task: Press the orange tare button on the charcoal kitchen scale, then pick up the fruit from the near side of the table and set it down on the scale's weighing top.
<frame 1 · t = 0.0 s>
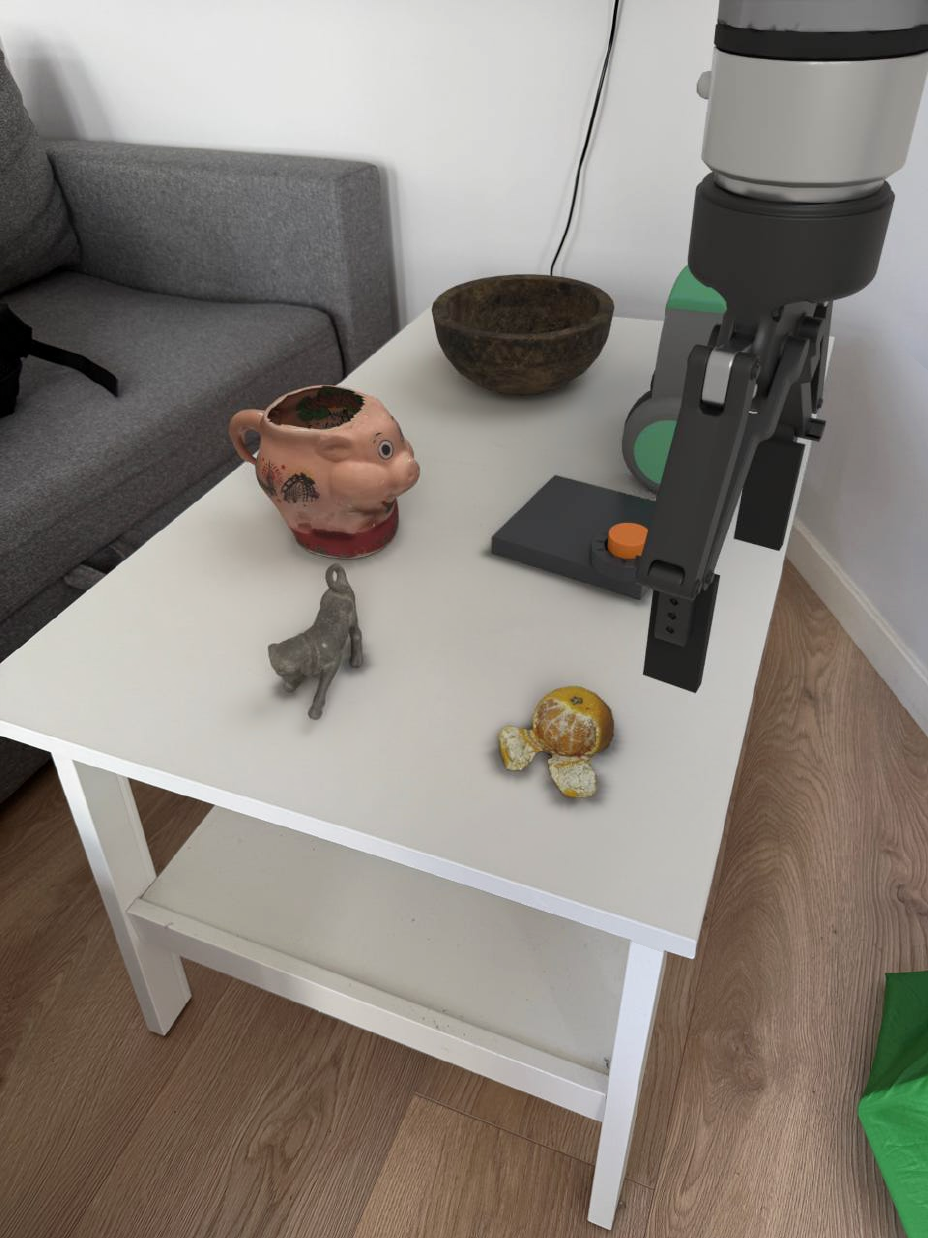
hand: (718, 605, 49), 19 cm above the table, tool pointing down, fingers open, 13 cm apart
tare button: (628, 541, 80), point 4 cm above the table, slide at 0.2 cm
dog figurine: (320, 676, 74), on the table
bowl: (521, 384, 116), on the table
fruit: (554, 751, 67), on the table
scale: (593, 540, 87), on the table
grey headset: (683, 460, 99), on the table
decorative planter: (332, 534, 90), on the table
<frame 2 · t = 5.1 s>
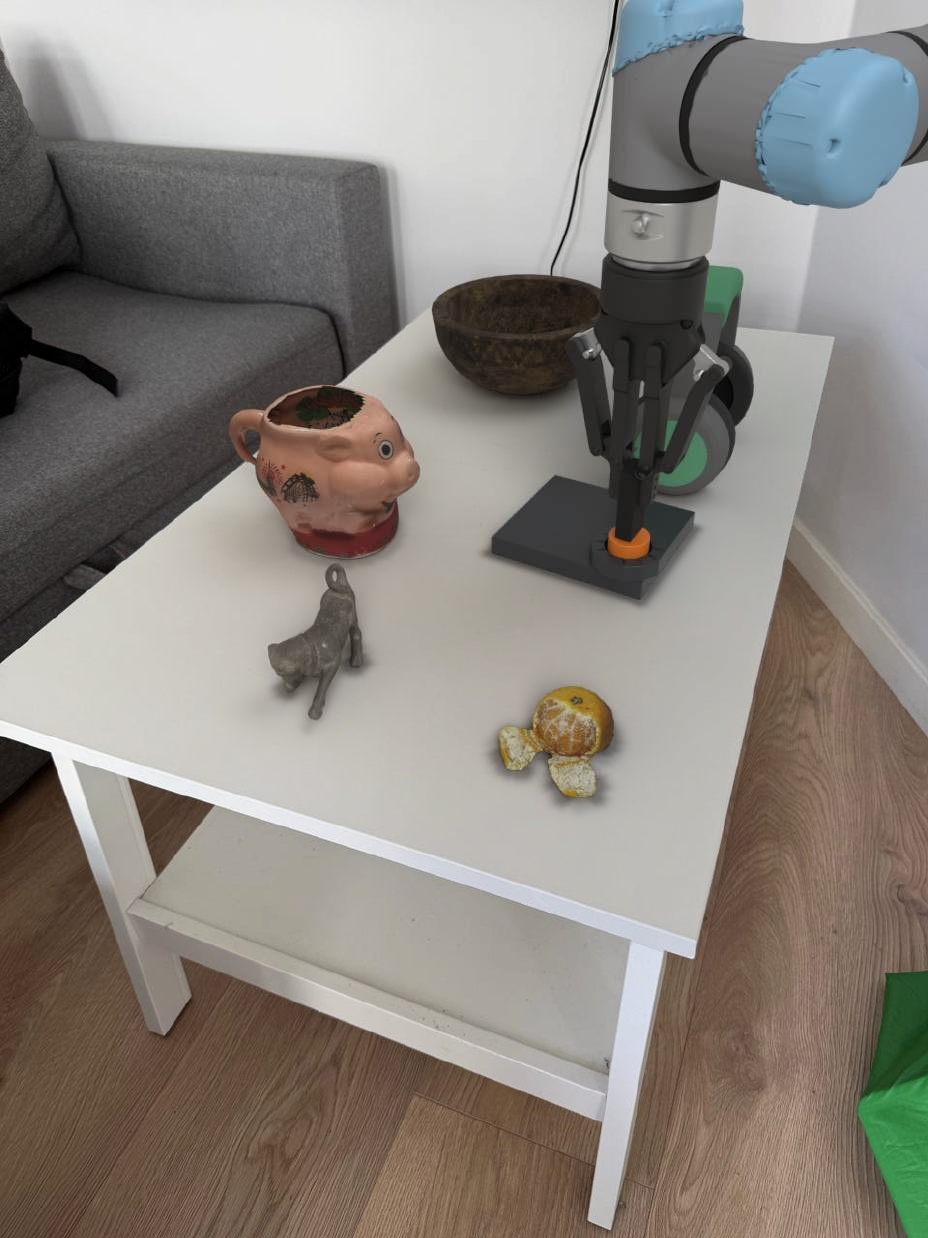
hand: (628, 531, 80), 5 cm above the table, tool pointing down, fingers closed
tare button: (628, 542, 80), point 4 cm above the table, slide at 0.0 cm, touching gripper
everything else where it was.
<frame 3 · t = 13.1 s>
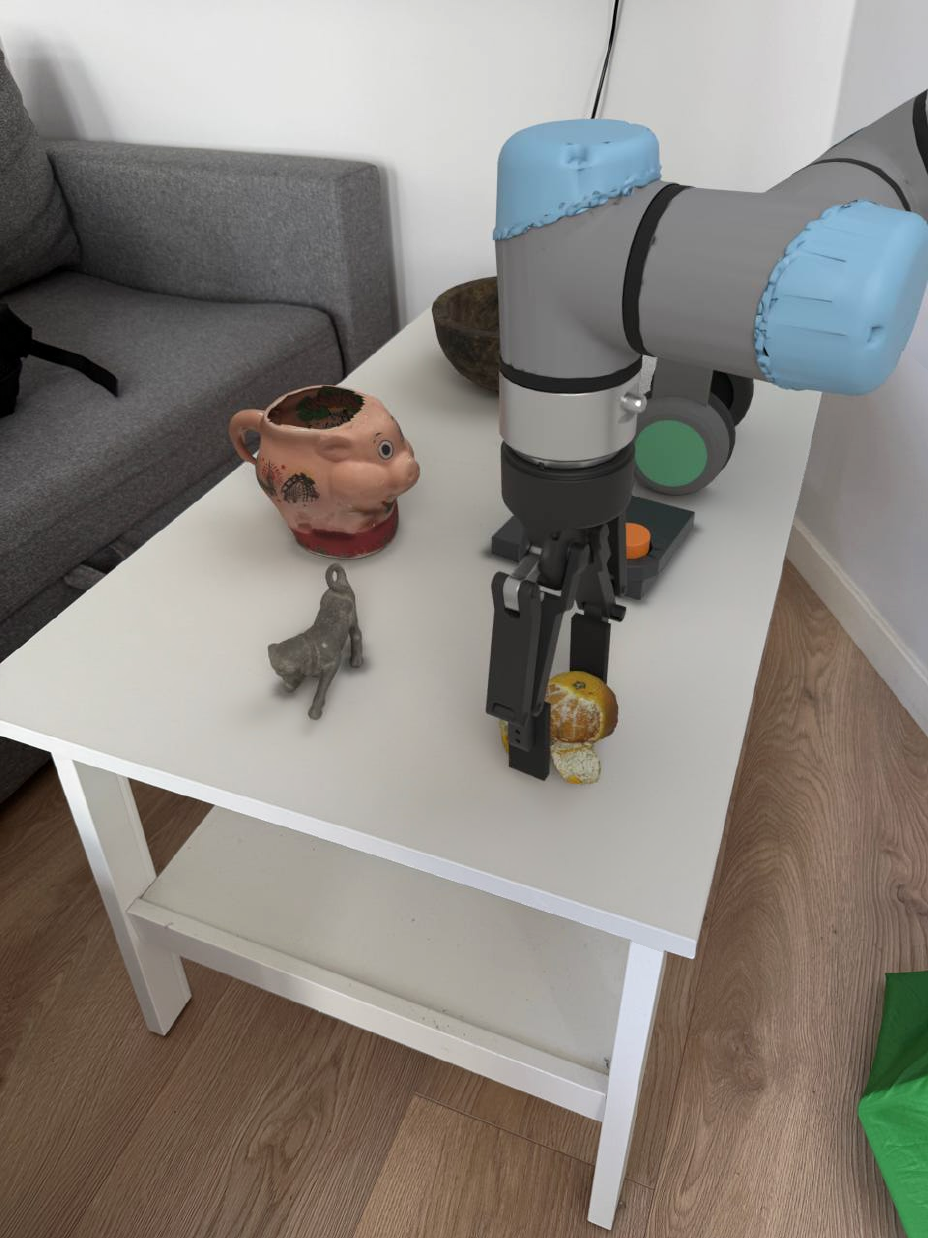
hand: (559, 727, 65), 2 cm above the table, tool pointing down, fingers closed on fruit, 8 cm apart
tare button: (628, 541, 80), point 4 cm above the table, slide at 0.1 cm
fruit: (556, 738, 65), point 2 cm above the table, touching gripper
everything else where it was.
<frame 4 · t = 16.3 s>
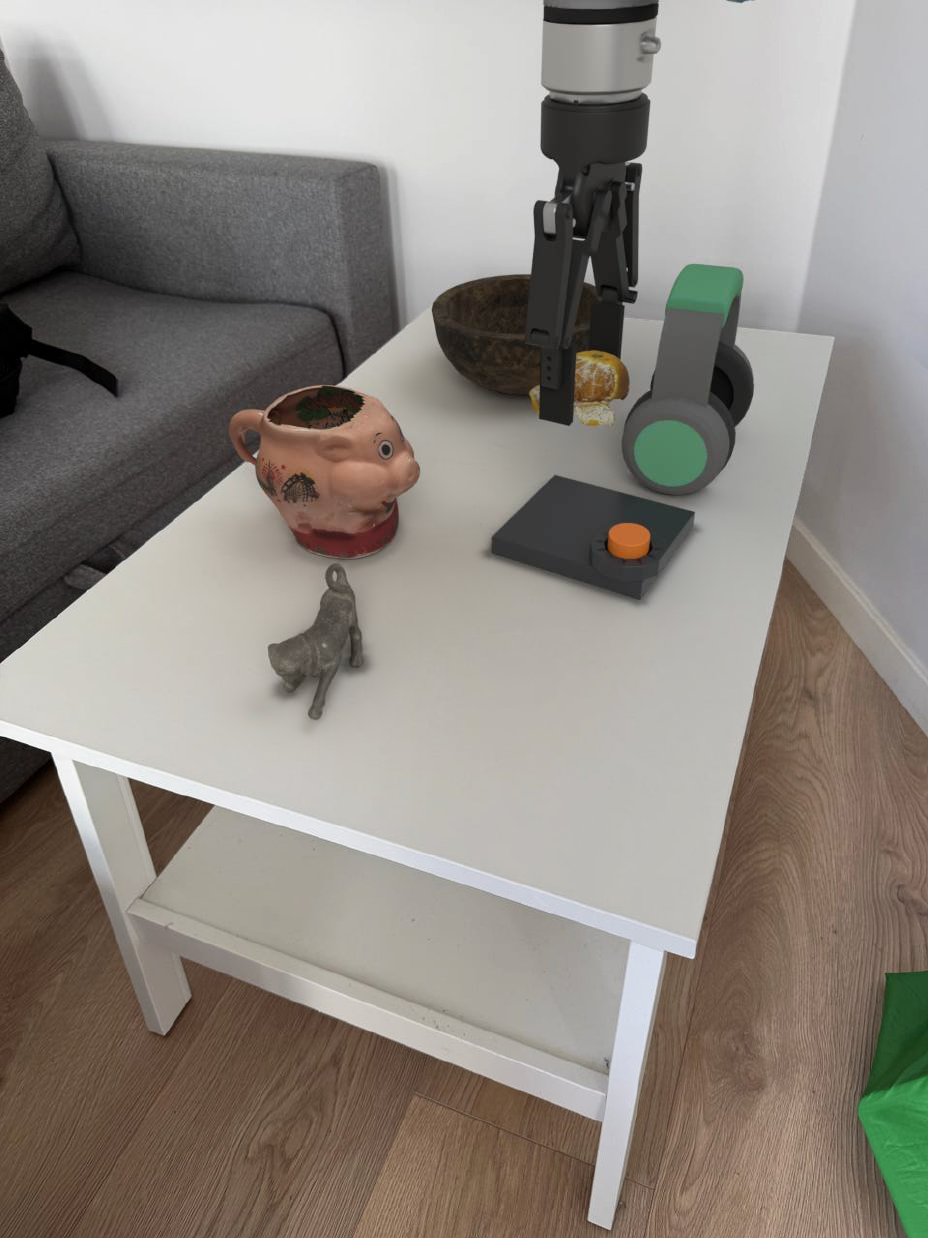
hand: (580, 398, 77), 15 cm above the table, tool pointing down, fingers closed on fruit, 8 cm apart
fruit: (577, 405, 77), point 15 cm above the table, touching gripper
everything else where it was.
when the fingers open (4 cm above the table, at t = 19.3 s): fruit stays where it is, resting on scale.
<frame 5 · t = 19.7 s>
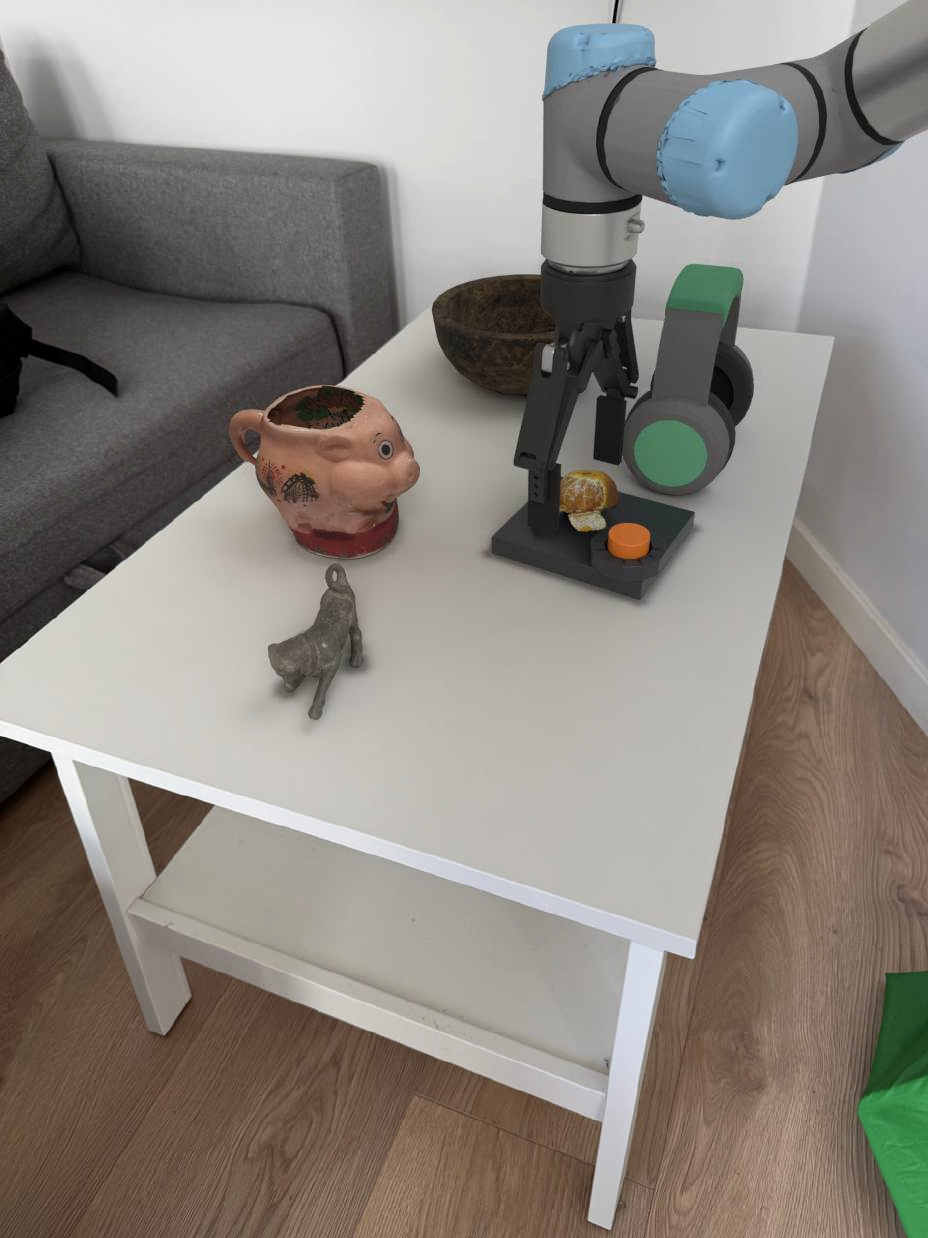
hand: (576, 492, 85), 5 cm above the table, tool pointing down, fingers open, 13 cm apart
fruit: (573, 518, 86), point 2 cm above the table, touching scale
everything else where it was.
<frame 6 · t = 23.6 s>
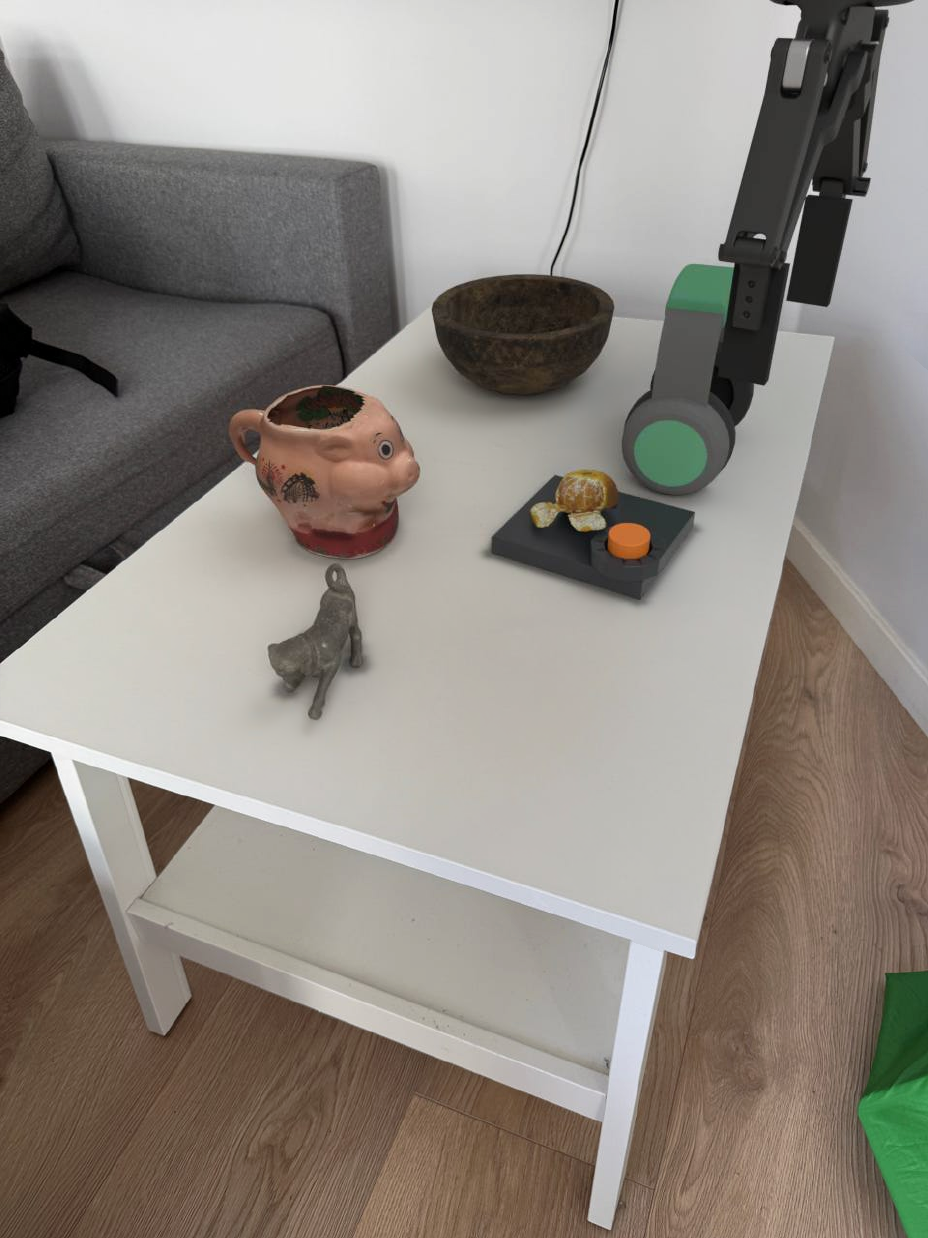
hand: (777, 338, 57), 27 cm above the table, tool pointing down, fingers open, 13 cm apart
nothing on the table moved.
at the end: tare button pushed in 0.8 cm at the most during the clip, back to where it started at the end; tare button slide at 0.1 cm; fruit inside the target area on the scale (0.8 cm from its centre), point 2.4 cm above the scale's base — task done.
